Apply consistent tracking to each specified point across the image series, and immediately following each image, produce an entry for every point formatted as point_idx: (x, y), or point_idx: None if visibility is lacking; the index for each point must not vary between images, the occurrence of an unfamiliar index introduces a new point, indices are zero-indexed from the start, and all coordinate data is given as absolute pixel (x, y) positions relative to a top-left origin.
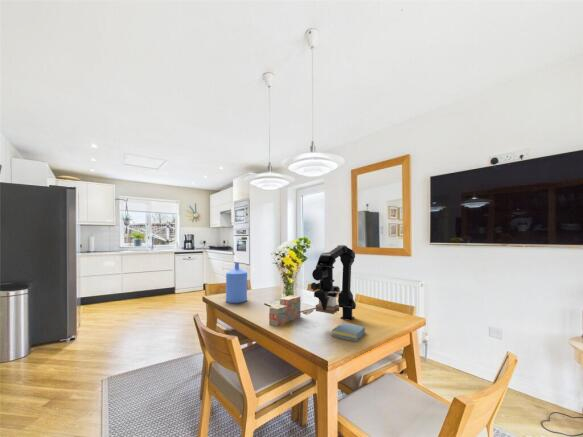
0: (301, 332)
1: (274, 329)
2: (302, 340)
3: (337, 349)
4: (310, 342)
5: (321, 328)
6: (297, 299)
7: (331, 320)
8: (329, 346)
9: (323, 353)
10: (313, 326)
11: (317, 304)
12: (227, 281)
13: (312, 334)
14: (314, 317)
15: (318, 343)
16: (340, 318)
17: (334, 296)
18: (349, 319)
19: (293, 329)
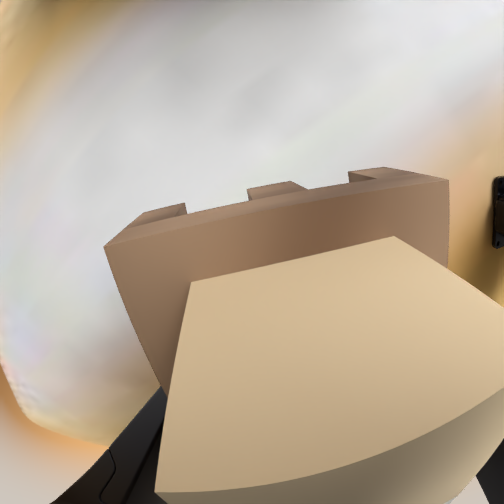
0: (70, 140)
1: (18, 5)
2: (7, 251)
3: (94, 417)
4: (27, 301)
5: (255, 185)
6: None
7: (449, 142)
8: (80, 387)
9: (31, 393)
10: (245, 103)
11: (184, 241)
12: None
13: (100, 225)
14: (415, 9)
15: (53, 337)
16: (495, 179)
17: (486, 483)
18: (495, 241)
19: (78, 55)
